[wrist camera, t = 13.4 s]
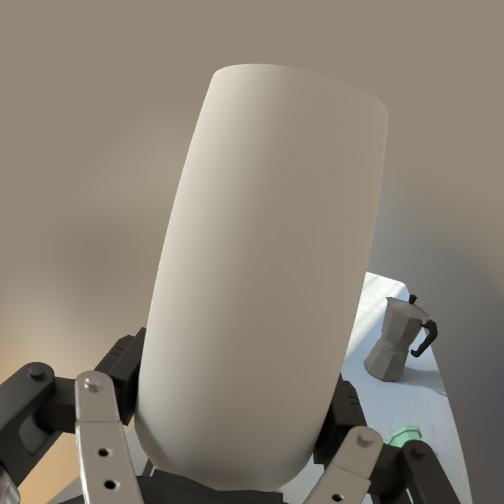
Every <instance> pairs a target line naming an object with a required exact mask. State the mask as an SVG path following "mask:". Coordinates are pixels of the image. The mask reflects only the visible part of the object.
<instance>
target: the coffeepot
mask: <svg viewBox="0 0 504 504" xmlns="http://www.w3.org/2000/svg"><path fill="white" fill-rule="evenodd" d="M386 299H387V300H388V303H387V308H386V312H385V317H384V321H383V326H382V330H381V332H382V336H381V338H380V339H379V340H378V341H377V343H376V345H375V346H374V348H373V349H372V351H371V352H370V354H369V355H368V357H367V358H366V360H365V361H364V365H365V368H366V370H367V371H368V373H370V374H371V375H372V376H374V377H375V378H377V379H380V380H383V381H396V380H398V379H399V377H400V376H401V375H402V372H403V369H404V366H405V362H406V359H407V355H408V352H409V350H408V349H409V346H410V345H411V344H412V343H413V341H414V340H415V338H416V337H417V335H418V333H419V332H420V330H421V328H422V327H424V328H427V329H429V331H430V334H429V335H428V336H427V337H426V338H425V340H424V342H423V343H422V344H421V345H420V346H419V348H418V350H417V351H414V350H411V354H412V355H413V356H414V357H416V358H417V357H419V356H420V355H421V354H422V353H423V352H424V351H425V350H426V348H427V347H428V346H429V345H430V344H431V343H432V342H433V341H434V340H435V339H436V337H437V335H438V332H437V326H436V323H435V322H434V321H432V320H431V319H429V318H428V317H429V315H428V314H427V313H426V312H425V311H424V310H423V309H422V308H420V307H418V306H416V305H415V304H414V302H415V300H416V299H417V297H416V296H415V295H410V297H409V302H407V301H402V300H399V299H396V298H393V297H386Z"/></svg>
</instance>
